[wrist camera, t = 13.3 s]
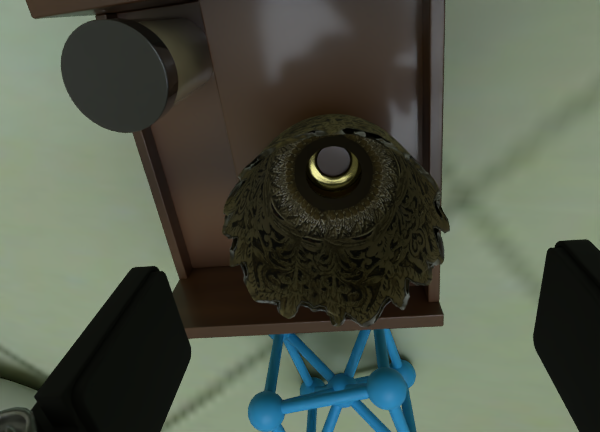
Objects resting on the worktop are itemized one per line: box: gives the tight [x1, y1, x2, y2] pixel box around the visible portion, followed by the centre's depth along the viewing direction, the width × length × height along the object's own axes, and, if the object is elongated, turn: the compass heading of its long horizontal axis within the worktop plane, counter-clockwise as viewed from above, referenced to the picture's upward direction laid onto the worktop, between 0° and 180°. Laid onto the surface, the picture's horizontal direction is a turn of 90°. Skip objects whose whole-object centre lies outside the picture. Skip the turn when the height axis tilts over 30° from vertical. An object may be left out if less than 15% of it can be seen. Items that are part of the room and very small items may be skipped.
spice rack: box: [26, 0, 445, 339], centre depth 23 cm, size 18×16×9 cm
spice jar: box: [61, 16, 213, 133], centre depth 19 cm, size 4×4×7 cm
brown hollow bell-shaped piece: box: [222, 114, 450, 327], centre depth 17 cm, size 8×7×8 cm
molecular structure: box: [248, 329, 416, 432], centre depth 30 cm, size 10×10×10 cm
